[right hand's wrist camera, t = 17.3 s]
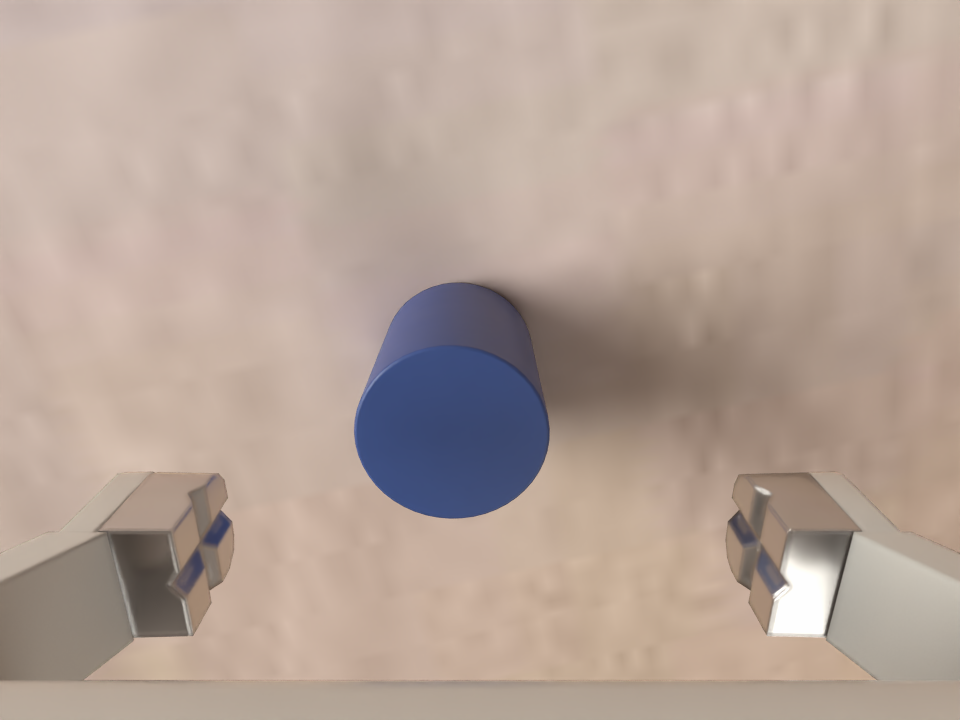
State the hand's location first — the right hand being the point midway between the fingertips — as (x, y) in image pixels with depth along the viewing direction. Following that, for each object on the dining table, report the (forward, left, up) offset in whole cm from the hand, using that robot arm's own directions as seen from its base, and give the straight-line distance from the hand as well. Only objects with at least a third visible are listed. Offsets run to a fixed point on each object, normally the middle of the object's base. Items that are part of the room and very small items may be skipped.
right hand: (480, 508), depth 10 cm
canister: (0, -1, -7) cm, 7 cm away
